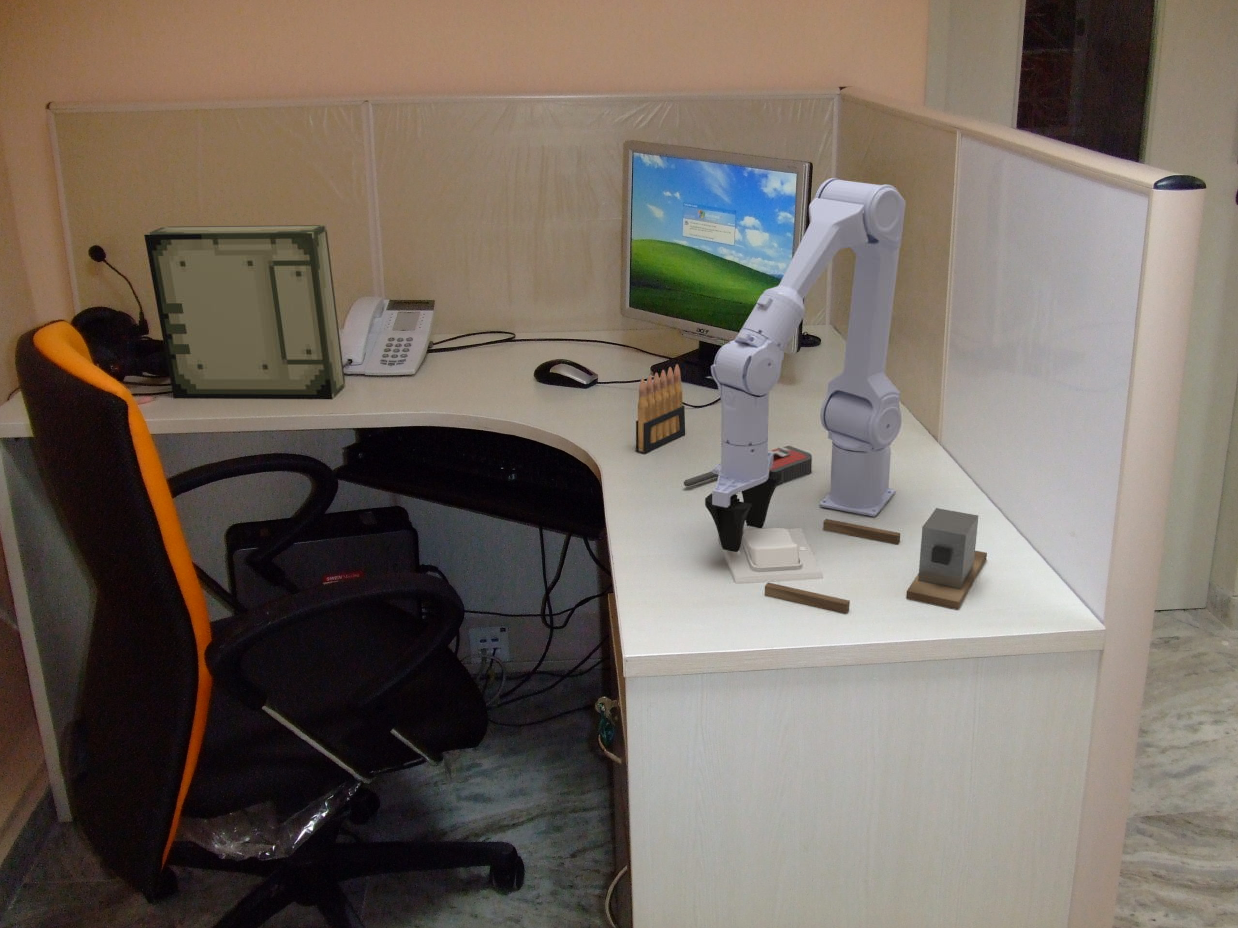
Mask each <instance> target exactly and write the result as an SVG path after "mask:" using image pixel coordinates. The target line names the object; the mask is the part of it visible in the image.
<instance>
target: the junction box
mask: <svg viewBox="0 0 1238 928" xmlns="http://www.w3.org/2000/svg"><path fill="white" fill-rule="evenodd" d="M978 524H979V515H978V514H973V513H967V512H966V513H965V512H960V511H955V510H950V509H944V508H940V507H939V508H938V507H935V509H934V510H933V511H932V513H931V515H930V516H929V517H928V519H927V520H926V521H925V523H924V524H923V526H922V527H921V529H922V530H921V539H920V540H921V542H920V551H919V552H920V555H919V566H918V567H919V568H918V573H919V576H918V581H921V582H926V583H931V584H935V585H940V586H945V587H950V588H955V589H959V590H961V589H962V587H963V585H964V584H965V582H966V580H967V579H968V577H969V575H970V573H971V572H972V570H973V566H974V556H975V551H976V545H977V536H978Z"/></svg>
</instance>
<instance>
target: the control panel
mask: <svg viewBox="0 0 1238 928" xmlns="http://www.w3.org/2000/svg"><path fill="white" fill-rule="evenodd" d="M327 228H328V227H327V225H326V224H319V225H318V224H313V225H312V224H309V225H308V224H307V225H305V224H299V225H298V224H297V225H295V224H294V225H293V224H292V225H290V224H289V225H288V224H287V225H208V226H207V225H206V226H205V225H201V226H200V225H197V226H195V225H194V226H190V225H189V226H184V225H183V226H182V225H181V226H162V227H159V228H157V229H154V230H153V231H149V232H147V233H145V234H144V241H145V247H146V252H147V258H148V264H149V269H150V275H151V282H152V286H153V291H154V297H155V304H156V308H157V313H158V314H157V315H158V319H159V325H160V330H161V337H162V340H163V341H162V342H163V348H164V353H165V358H166V363H167V369H168V376H169V380H170V386H171V392H172V397H173V399H179V400H180V399H189V400H190V399H195V400H196V399H197V400H198V399H199V400H200V399H203V400H204V399H208V400H211V399H213V400H214V399H215V400H219V399H221V400H223V399H224V400H237V399H238V400H334V399H335V398H336V397H337V395H339V393H341V392H342V391H343V390H344V389H345V388H346V379H345V371H344V361H343V354H342V353H343V352H342V345H341V337H340V330H339V322H338V312H337V305H336V304H337V303H336V296H335V287H334V280H333V279H334V278H333V273H332V264H331V261H332V260H331V254H330V246H329V237H328V229H327Z"/></svg>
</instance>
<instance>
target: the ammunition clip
mask: <svg viewBox="0 0 1238 928" xmlns="http://www.w3.org/2000/svg"><path fill="white" fill-rule="evenodd" d="M681 375H682V374H681V369H680V367H679V364H678V363H677V364H675V367H674V370H673V369H672V367H671V366H669V368H668V369H667V374H666V370H665V369H662V370H661V373H660V377H659V374H658V372H655V374H654V377H653V378H652V376H651V375H648V376H647V379H646V381H645V379H644V377H642V378H641V379H640V383H639V387H638V388H639V389H638V403H637V420H635V452H636V453H639V454H644V455H647V454H649V453H651V452H653V451H656V450H657V449H659V448H661V447H663V446H666V445H667V444H669V443H673V442H675V440H678V439H680V438H682V437H684V436H686V418H685V417H686V416H685V415H686V413H685V412H686V410H685V405H684V404H683V387H682V378H681V377H682V376H681Z"/></svg>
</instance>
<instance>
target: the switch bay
mask: <svg viewBox="0 0 1238 928" xmlns="http://www.w3.org/2000/svg"><path fill="white" fill-rule="evenodd" d="M822 522H823V523H822V524H823V525H822V531H826V532H831V533H837V534H842V535H845V536H853V537H856V538H861V539H862V538H863V539H867V540H872V541H877V542H883V543H888V544H893V545H899V543H900V541H901V532H896V531H892V530H886V529H881V528H876V527H871V526H866V525H861V524H856V523H851V522H845V521H839V520H835V519H834V520H833V519H828V518H825V519H824V520H823V521H822ZM764 596H767V597H772V598H775V599H780V600H784V601H789V602H793V603H799V604H803V605H808V606H811V607H816V608H819V609H825V610H829V611H834V612H836V613H843V614H848V612H849V611H850V607H851V606H850V601H851V600H850V599H849V600H848V599H844V598H839V597H835V596H832V595H825V594H821V593H818V592H813V591H808V590H804V589H799V588H795V587H791V586H786V585H782V584H776V583H774V582H766V584H765V585H764Z"/></svg>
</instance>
